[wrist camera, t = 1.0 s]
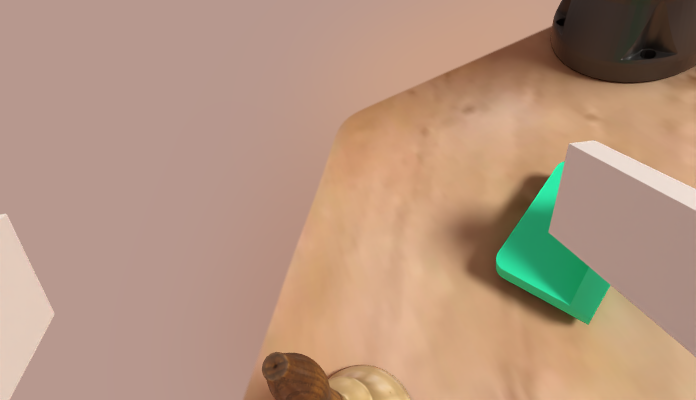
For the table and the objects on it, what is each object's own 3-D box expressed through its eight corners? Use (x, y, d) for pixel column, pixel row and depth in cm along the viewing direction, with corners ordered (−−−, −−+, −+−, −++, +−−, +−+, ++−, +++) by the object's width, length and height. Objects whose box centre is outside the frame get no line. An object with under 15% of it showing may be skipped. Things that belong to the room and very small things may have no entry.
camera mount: (559, 175, 39) (576, 90, 31) (652, 211, 35) (700, 123, 27) (490, 277, 36) (490, 210, 28) (585, 329, 32) (618, 269, 24)
